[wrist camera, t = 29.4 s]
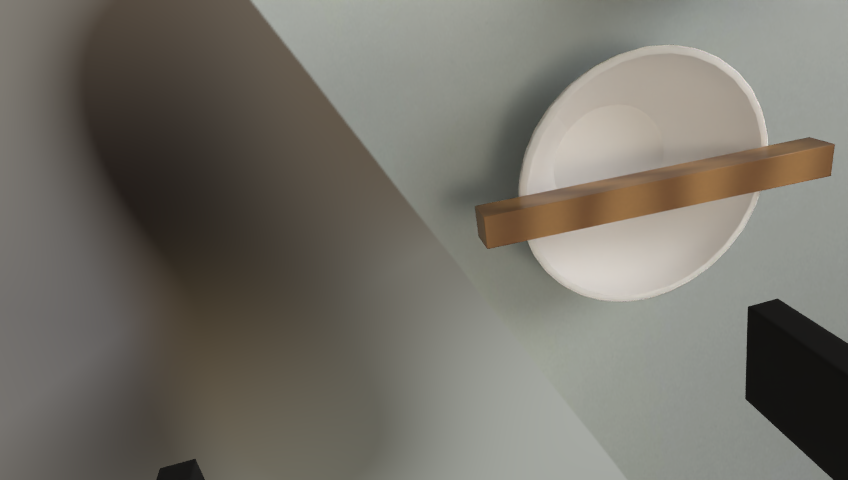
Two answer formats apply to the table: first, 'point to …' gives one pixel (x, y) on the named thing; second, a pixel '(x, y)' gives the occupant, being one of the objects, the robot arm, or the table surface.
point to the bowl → (643, 167)
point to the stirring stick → (652, 191)
